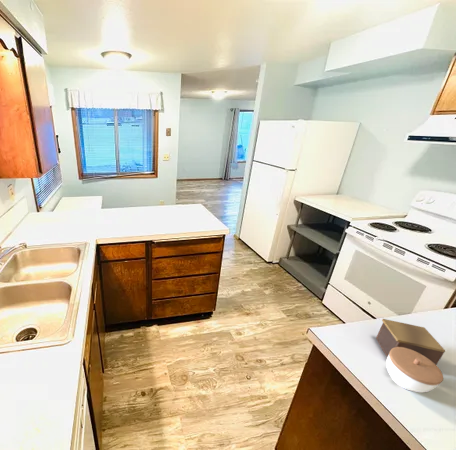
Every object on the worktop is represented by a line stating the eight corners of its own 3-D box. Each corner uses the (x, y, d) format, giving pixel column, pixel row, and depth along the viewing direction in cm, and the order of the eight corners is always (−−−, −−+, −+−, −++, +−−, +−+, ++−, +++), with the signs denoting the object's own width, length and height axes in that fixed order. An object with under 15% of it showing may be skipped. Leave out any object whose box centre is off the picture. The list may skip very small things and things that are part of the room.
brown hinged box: (389, 361, 77) (399, 342, 74) (375, 338, 85) (383, 320, 82) (431, 372, 74) (444, 352, 71) (413, 347, 82) (423, 329, 79)
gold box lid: (396, 341, 74) (397, 339, 74) (381, 320, 82) (382, 318, 82) (444, 352, 70) (445, 350, 70) (423, 329, 79) (424, 327, 79)
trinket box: (385, 388, 69) (399, 367, 65) (375, 357, 77) (387, 337, 73) (437, 407, 64) (455, 386, 60) (420, 372, 73) (435, 352, 69)
